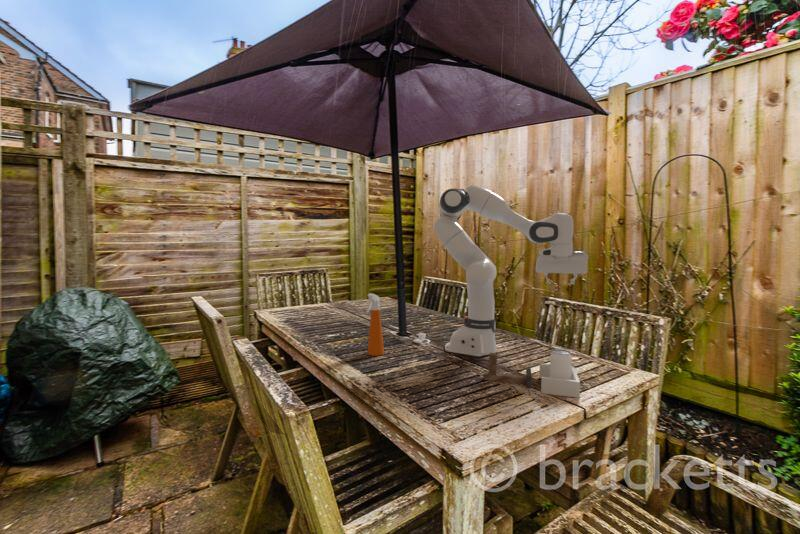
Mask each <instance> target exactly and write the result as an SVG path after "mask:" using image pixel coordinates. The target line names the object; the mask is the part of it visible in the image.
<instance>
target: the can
mask: <svg viewBox="0 0 800 534" xmlns="http://www.w3.org/2000/svg"><path fill="white" fill-rule="evenodd" d="M549 357H550V358H549V359H550V361H549V364H550V378H558V379H567V380H571V371H572V367H573V366H572V364H573V363H572V361H573V357H572V355H571V351H570V350H567V349H562V348H554V349H552V350H551V353H550V356H549Z"/></svg>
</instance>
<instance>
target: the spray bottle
mask: <svg viewBox="0 0 800 534" xmlns="http://www.w3.org/2000/svg"><path fill="white" fill-rule="evenodd" d="M367 297H368V305H367V309H366V311H365V313H366V314H368V313H369V312H370V317H369V318H370V320H369V321H370V322H369V330H368V331H369V332H368V342H367V343H368V345H367V354H368V355H369V356H372V357H373V356H374V357H375V356H376V357H377V356H382V355H384V354H385V348H384V337H383V329H382V318H381V317H382V315H381V308H380V307H381V306H380V301H381V298H380V296H379V295H377V294H375V293H373V292H372V293H368V294H367Z"/></svg>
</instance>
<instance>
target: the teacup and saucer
mask: <svg viewBox="0 0 800 534" xmlns="http://www.w3.org/2000/svg"><path fill="white" fill-rule="evenodd" d="M417 336H418V338H415V339H413V342H414V343H416V344H422V345H424V344H428V343H430V342H431V340H430V339H428V338H426V337H427V334H426V333H425V332H418V335H417ZM425 341H426V342H425Z"/></svg>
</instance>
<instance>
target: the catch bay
mask: <svg viewBox="0 0 800 534" xmlns="http://www.w3.org/2000/svg"><path fill="white" fill-rule="evenodd" d="M538 378H539V379H541V380H540V381H541V384H540V385H541V386H540V392H541V393H540V394H546V395H555V396H562V397H569V398H577V399H580V397H581V396H580V394H581V393H580V391H581V381H580V379H579V378H580V377H579V375H578V373H577V370H576V368H575V366H572V371H571V380H567V379H558V378H550V363H541V362H540V363H539V375H538Z"/></svg>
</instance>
